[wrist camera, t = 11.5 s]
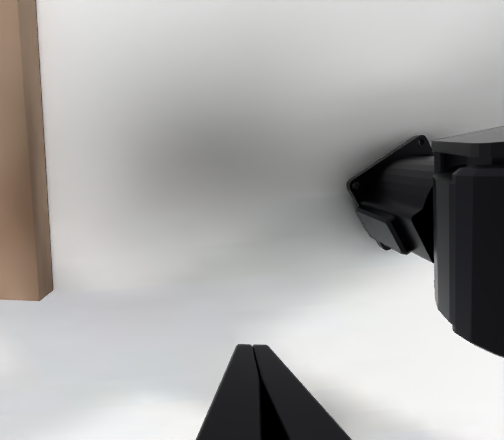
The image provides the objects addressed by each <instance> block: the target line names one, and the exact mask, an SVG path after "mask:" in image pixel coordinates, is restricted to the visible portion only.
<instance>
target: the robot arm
mask: <svg viewBox="0 0 504 440" xmlns="http://www.w3.org/2000/svg"><path fill="white" fill-rule="evenodd" d="M418 140H420V145H418ZM433 151H434V154H433ZM355 182H356V184H357V186H356V187H355V188H353V184H354V183H355ZM347 188H348V190H349V192H350V194H351V196H352V197H353V199H354V201H355V203H356V205H357V206H358V207H357V208H356V212H357V214H358V216H359V218H360V220H361V221H362V223H363V225H364V227H365V228H366V230H367V232H368V234H369V236H370V237H372V238H374V239H376V241H377V242H378V244H379V246H380V247H381V248H382V249H384V250H390V249H391V248H392V249H394V250H396V251H397V252H399V253H401V254H405V255H407V254H409V253H410V252H413V253H415V254H417V255H418V256H420V257H422V258H424V259H426V260H428V261H430V262H432V263H434V277H435V280H434V288H435V300H436V304H437V307H438V310H439V311H440V312H441V313H442V314H443V315H444V317H445V318H446V319H447V320H448V321H449V322H450V323H451V324H452V328H453V331H454V332H455V333H456V334H458V335H459V336H461V337H462V338H464V339H466V340H467V341H469V342H470V343H472V344H474V345H475V346H477V347H479V348H482V349H484V350H486V351H488V352H490V353H492V354H494V355H497V356H500V357H503V358H504V126H501V127H496V128H491V129H486V130H481V131H476V132H471V133H467V134H462V135H457V136H452V137H447V138H442V139H437V140H433V141H432V149H431V147H430V144H429V142H428V140H427V138H426V137H425V136H424V135H418V136H415V137H413V138H412V139H410V140H409V141H407V142H406V143H404V144H403V145H401V146H400V147H398V148H397V149H395V150H394V151H392V152H391V153H389V154H388V155H386V156H385V157H383V158H382V159H380V160H379V161H377V162H376V163H374V164H373V165H371V166H370V167H368V168H367V169H365V170H364V171H362V172H361V173H359V174H358V175H356V176H355V177H353V178H352V179H350V180H349V181H348V183H347ZM196 440H352V439H351V438H350V437H349V436H348V435H347V434H346V433H345V431H344V430H343V429H342V428H341V427H340V426H339V425H338V424H337V423H336V421H335V420H334V419H333V418H332V417H331V416H330V415H329V414H328V412H327V411H326V410H325V409H324V408H323V407H322V406H321V405H320V403H319V402H318V401H317V400H316V399H315V398H314V397H313V396H312V394H311V393H310V392H309V391H308V390H307V389H306V388H305V387H304V386H303V384H302V383H301V382H300V381H299V380H298V379H297V378H296V377H295V375H294V374H293V373H292V372H291V371H290V370H289V369H288V368H287V366H286V365H285V364H284V363H283V362H282V361H281V360H280V359H279V357H278V356H277V355H276V354H275V353H274V352H273V351H272V350H271V349H270V347H269V346H267V345H253V346H251V345H250V344H238V345H237V346H236V348H235V350H234V352H233V355H232V357H231V359H230V362H229V364H228V366H227V369H226V371H225V373H224V376H223V378H222V380H221V383H220V385H219V387H218V389H217V392H216V394H215V396H214V399H213V401H212V403H211V406H210V408H209V410H208V413H207V415H206V417H205V420H204V422H203V424H202V427H201V429H200V431H199V433H198V436H197V438H196Z"/></svg>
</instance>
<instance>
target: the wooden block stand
mask: <svg viewBox="0 0 504 440" xmlns="http://www.w3.org/2000/svg"><path fill="white" fill-rule="evenodd" d="M51 291H53V282H52V265H51V249H50V232H49V216H48V199H47V182H46V166H45V149H44V133H43V116H42V99H41V83H40V66H39V50H38V33H37V16H36V0H0V299H3V300H27V301H40V300H41V299H43V298H44V297H45V296H46V295H48V294H49V293H50V292H51Z"/></svg>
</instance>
